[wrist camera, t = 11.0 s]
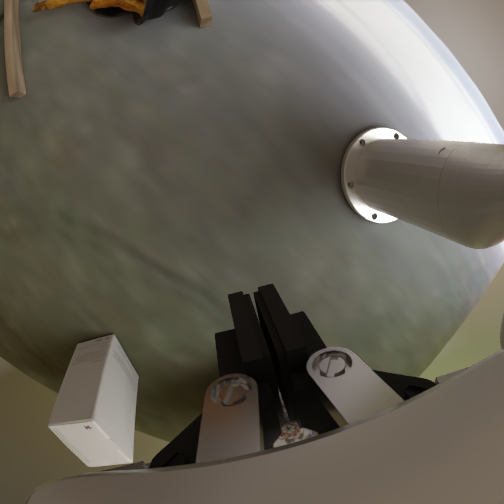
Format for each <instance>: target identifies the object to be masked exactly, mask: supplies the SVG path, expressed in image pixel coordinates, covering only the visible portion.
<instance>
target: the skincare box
mask: <svg viewBox="0 0 504 504" xmlns="http://www.w3.org/2000/svg"><path fill="white" fill-rule="evenodd" d="M138 379H139V376H138V374H137V373H136V371H135V369H134V368H133V366H132V364H131V362H130V361H129V359H128V357H127V356H126V354H125V352H124V350H123V349H122V347H121V345H120V343H119V342H118V340H117V338H116V336H115V335H114V334H112V335H108V336H104V337H101V338H97V339H93V340H90V341H86V342H82V343H78V344H77V346H76V349H75V351H74V354H73V356H72V359H71V361H70V364H69V366H68V369H67V372H66V374H65V377H64V380H63V382H62V385H61V388H60V390H59V393H58V396H57V399H56V402H55V405H54V408H53V411H52V414H51V417H50V420H49V423H48V427H49V428H50V429H51V430H52V431H53V432H54V433H55V434H56V436H57V437H58V438H59V439H61V441H62V442H63V443H64V444H65V445H66V446H67V447H68V448H69V449H70V450H71V451H72V452H73V453H74V454H75V455H77V457H79V458H80V459H81V460H82V461H83V462H84V463H85V464H86V465H87V466H88V467H95V466H106V465H114V464H124V463H132V462H133V445H134V427H135V412H136V399H137V388H138Z"/></svg>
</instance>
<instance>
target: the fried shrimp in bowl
mask: <svg viewBox="0 0 504 504" xmlns="http://www.w3.org/2000/svg"><path fill="white" fill-rule="evenodd" d="M188 1H190V0H42V1H39V2H38V3H36V4H35V5H34V7H33V8H32V12H37V11H40V10H41V11H43V10H45V9H49V10H51V9H53V8H55V7H63V6H65V5H68V4H72V3H77V2H86V4H87V6H88V7H89V9H90V10H92V11H93V12H94V13H96V14H97V15H99V16H103V17H109V18H110V17H111V18H112V17H119V16H122V15H125V14H128V13H130V12H131V13H132V15H133V21H134V23H135V24H136V25H141V24H142V23H143V22H145V21H146V20H148V19H154V18H158V17H161V16H162V15H163V14H164V13H166V12H167V11H169V10H171V9H172V8H174V7H175V6H177V5H178V4H181V3H186V2H188Z"/></svg>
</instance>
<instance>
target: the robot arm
mask: <svg viewBox="0 0 504 504" xmlns="http://www.w3.org/2000/svg"><path fill="white" fill-rule="evenodd" d="M359 141H360V143H359ZM341 183H342V189H343V192H344V195H345V198H346V200H347V201H348V203H349V205H350V206H351V208H352V209H353V210H354V211H355V212H356V213H357V214H358V215H359V216H361V217H362V218H364V219H366V220H368V221H371V222H374V223H381V224H382V223H389V222H392V221H395V220H397V219H400V220H403V221H405V222H408V223H410V224H413V225H415V226H418V227H420V228H423V229H425V230H428V231H430V232H433V233H435V234H437V235H440V236H442V237H445V238H447V239H449V240H452V241H454V242H457V243H459V244H462V245H464V246H466V247H469V248H474V249H485V248H489V247H492V246H495V245H497V244H499V243H501V242H502V241H504V145H502V144H486V143H475V142H459V141H442V140H415V139H407V138H406V137H405V136H404V135H403V134H401V133H400V132H398V131H396V130H394V129H391V128H386V127H376V128H370V129H368V130H365V131H363V132H362V133H360V134H359V135H357V136H356V137H355V138H354V139H353V141H352V142H351V143H350V145H349V146H348V148H347V150H346V152H345V155H344V157H343V161H342V166H341ZM348 183H349V185H348ZM253 293H254V298H255V303H256V308H257V312H258V317H259V321H258V318H257V315H256V312H255V309H254V306H253V304H252V301H251V298H250V295H249V294H245V295H243V292H242V291H241V292H237V293H233V294H229V295H228V299H229V303H230V308H231V313H232V318H233V322H234V327H235V329H232V330H228V331H223V332H219V333H215V340H216V349H217V358H218V366H219V375H220V378H218V379H216V380H215V381H213V382H212V383H211V384H210V385H209V387H208V388H207V390H206V393H205V398H204V405H203V412H202V414H200V415H199V416H198V417H197V418H196V419H195V420H194V421H193V422H192V423H191V424H190V425H189V426H188V427H187V428H186V429H184V430H183V431H182V432H181V433H180V434H179V435H178V436H177V437H176V438H175V439H173V440H172V441H171V442H170V443H169V444H168V445H167V446H166V447H165V448H164V449H162V450H161V451H160V452H159V453H158V454H157V455H156V456H155V457H154V458H153V459H152V461H151V463H147V464H145V463H144V462H143V461H141V462H137V463H133V464H129V465H125V466H121V467H117V468H112V469H108V470H103V471H98V472H92V473H83V474H77V475H72V476H66V477H63V478H59V479H56V480H52V481H49V482H47V483H45V484H43V485H41V486H39V487H37V488H36V489H35V490H34V491H32V492H31V494H30V495H29V496H28V498H27V500H26V501H25V503H24V504H504V314H503V319H502V324H501V332H500V343H501V349H502V350H500V351H498V352H496V353H494V354H492V355H490V356H488V357H486V358H485V359H483V360H481V361H479V362H478V363H476V364H474V365H472V366H470V367H467V368H465V369H461V370H458V371H455V372H452V373H449V374H446V375H443V376H439V377H436V380H435V381H434V382H432V381H430V380H428V379H424V378H418V377H412V376H405V375H399V374H393V373H387V372H382V371H376V370H371V369H370V368H369V367H368V366H367V365H366V364H365V363H364V362H363V361H362V360H361V359H360V358H359V357H357V356H356V355H355V354H354V353H353V352H351V351H350V350H348V349H345V348H341V347H330V348H327V347H326V346H325V344H324V342H323V341H322V339H321V338H320V336H319V335H318V333H317V331H316V330H315V328H314V327H313V325H312V324H311V322H310V320H309V319H308V317H307V316H306V314H305V313H304V312H303V311H301V312H298V313H294V314H289V312H288V310H287V308H286V307H285V305H284V303H283V301H282V299H281V297H280V296H279V294H278V292H277V290H276V288H275V286H274V285H273V284H269V285H265V286H261V287H258V291H257V292H253ZM259 322H260V323H259ZM278 389H279V390H278ZM279 392H280V394H281V397H282V400H283V403H284V406H285V409H286V411H287V414H288V417H289V420H290V422H293V421H297V424H298V426H299V429H302V428H306V429H309V430H312V431H314V435H315V436H314V437H310V438H307V439H304V440H301V441H297V442H294V443H290V444H287V445H283V446H279V447H275V448H274V445H273V444H274V443H275V442H276V440H277V439H278V438H279V436H280V435H281V434H282V430H281V426H280V425H282V424H285V419H284V414H283V409H282V405H281V400H280V395H279Z"/></svg>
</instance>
